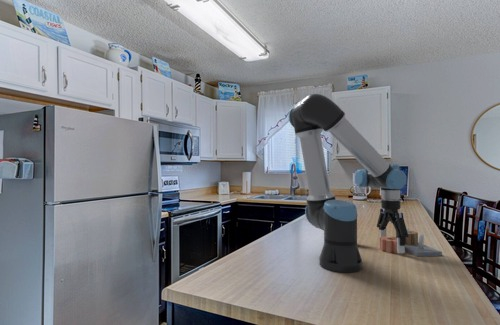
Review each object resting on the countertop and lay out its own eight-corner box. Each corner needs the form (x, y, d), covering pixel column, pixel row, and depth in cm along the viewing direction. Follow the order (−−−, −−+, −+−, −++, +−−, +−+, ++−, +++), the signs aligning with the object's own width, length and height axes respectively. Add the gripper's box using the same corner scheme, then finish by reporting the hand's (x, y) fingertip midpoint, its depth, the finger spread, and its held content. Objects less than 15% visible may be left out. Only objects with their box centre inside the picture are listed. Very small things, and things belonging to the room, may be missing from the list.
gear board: (442, 255, 121) (441, 235, 121) (416, 256, 120) (416, 236, 120) (411, 243, 141) (411, 226, 141) (389, 243, 140) (388, 226, 140)
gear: (406, 253, 124) (406, 241, 125) (386, 253, 124) (386, 241, 124) (394, 247, 133) (394, 236, 133) (376, 247, 132) (376, 236, 133)
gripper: (417, 202, 117) (418, 256, 116) (383, 196, 142) (384, 240, 141) (399, 203, 116) (400, 257, 116) (368, 196, 141) (369, 241, 141)
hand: (391, 248), depth 129 cm, fingers open, 13 cm apart
